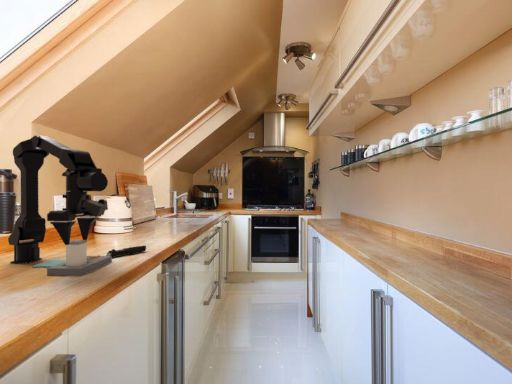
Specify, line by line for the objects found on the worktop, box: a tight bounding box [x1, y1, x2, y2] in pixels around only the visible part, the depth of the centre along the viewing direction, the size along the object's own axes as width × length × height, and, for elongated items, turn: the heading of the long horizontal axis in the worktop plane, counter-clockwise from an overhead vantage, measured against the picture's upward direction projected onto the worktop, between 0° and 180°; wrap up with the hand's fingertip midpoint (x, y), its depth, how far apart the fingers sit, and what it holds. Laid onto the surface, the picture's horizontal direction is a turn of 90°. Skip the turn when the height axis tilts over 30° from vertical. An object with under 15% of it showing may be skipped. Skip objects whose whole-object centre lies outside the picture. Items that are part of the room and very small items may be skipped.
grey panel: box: [46, 254, 113, 277], centre depth 99 cm, size 10×18×2 cm, turn 179°
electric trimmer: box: [105, 245, 147, 259], centre depth 120 cm, size 4×16×3 cm, turn 143°
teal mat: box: [31, 258, 66, 269], centre depth 104 cm, size 10×10×1 cm
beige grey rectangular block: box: [65, 239, 88, 266], centre depth 96 cm, size 4×4×9 cm
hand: (76, 242), depth 96 cm, fingers open, 9 cm apart
